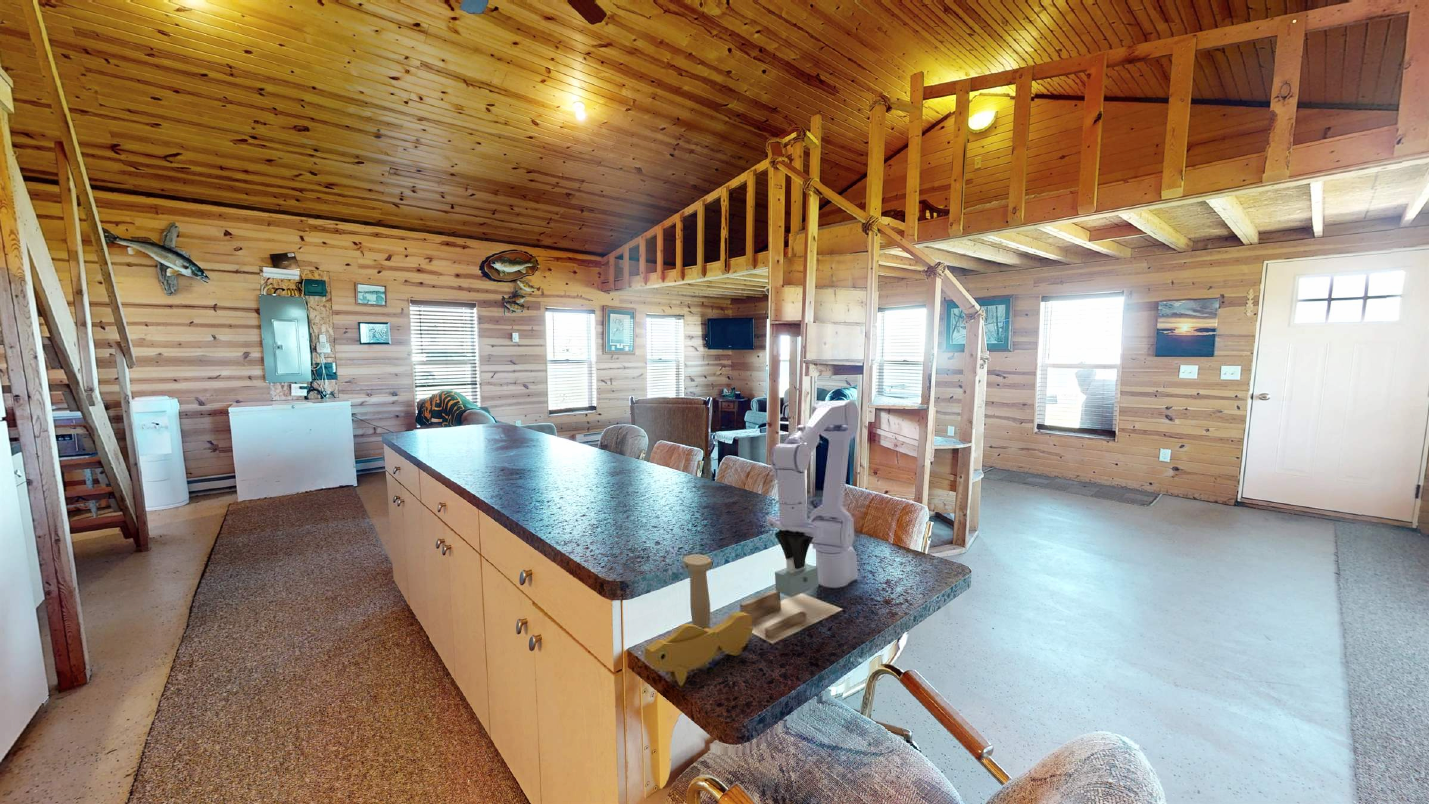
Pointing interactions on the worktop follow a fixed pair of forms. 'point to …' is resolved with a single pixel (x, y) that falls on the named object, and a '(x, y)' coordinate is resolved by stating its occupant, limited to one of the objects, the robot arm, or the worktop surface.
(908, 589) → the worktop surface
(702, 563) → the handle
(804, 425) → the robot arm
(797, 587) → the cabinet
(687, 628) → the decorative fish
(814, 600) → the cleat board
